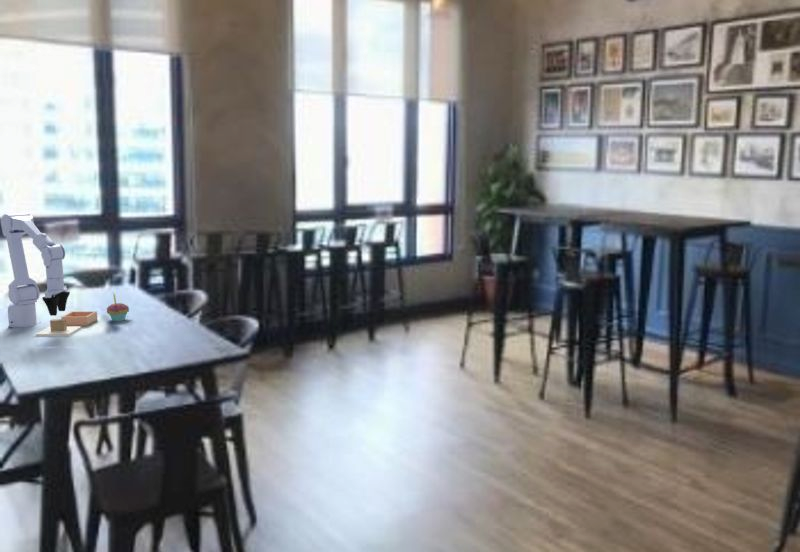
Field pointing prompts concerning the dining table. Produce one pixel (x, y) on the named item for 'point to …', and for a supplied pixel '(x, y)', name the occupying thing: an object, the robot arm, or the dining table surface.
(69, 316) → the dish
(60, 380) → the dining table surface
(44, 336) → the mat
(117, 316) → the cupcake
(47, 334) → the lid
